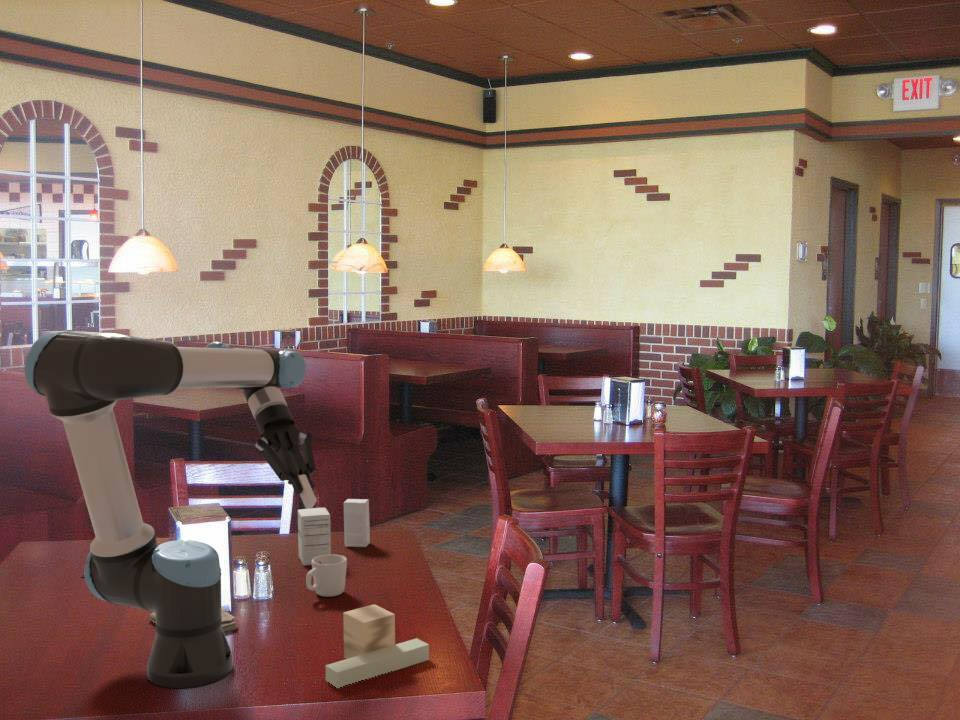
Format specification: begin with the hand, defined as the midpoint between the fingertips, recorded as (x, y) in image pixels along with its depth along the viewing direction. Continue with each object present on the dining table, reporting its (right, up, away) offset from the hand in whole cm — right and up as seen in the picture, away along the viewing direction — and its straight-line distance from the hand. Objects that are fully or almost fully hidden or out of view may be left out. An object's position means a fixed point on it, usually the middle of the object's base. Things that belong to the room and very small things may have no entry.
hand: (311, 504), depth 200 cm
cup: (-1, -24, +23) cm, 33 cm away
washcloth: (-25, -26, +5) cm, 37 cm away
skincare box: (+2, -20, +62) cm, 65 cm away
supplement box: (-7, -21, +48) cm, 53 cm away
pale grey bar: (+16, -28, -18) cm, 37 cm away
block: (+13, -28, -12) cm, 33 cm away
